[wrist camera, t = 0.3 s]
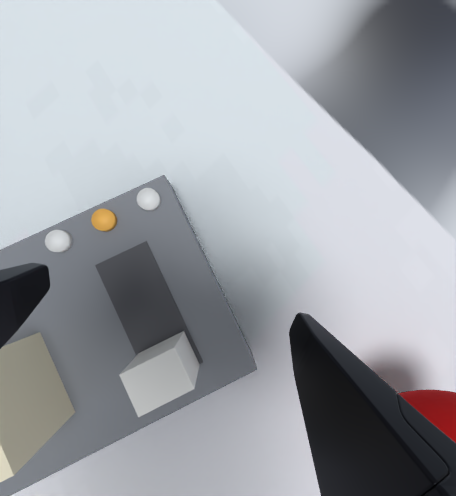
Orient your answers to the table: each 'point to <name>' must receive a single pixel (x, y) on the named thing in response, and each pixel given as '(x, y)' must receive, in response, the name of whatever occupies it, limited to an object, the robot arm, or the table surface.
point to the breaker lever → (160, 374)
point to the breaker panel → (122, 316)
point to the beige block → (28, 402)
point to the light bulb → (435, 408)
